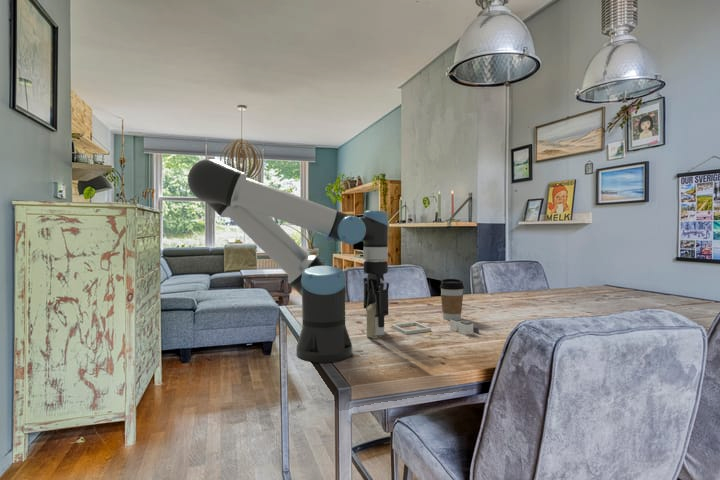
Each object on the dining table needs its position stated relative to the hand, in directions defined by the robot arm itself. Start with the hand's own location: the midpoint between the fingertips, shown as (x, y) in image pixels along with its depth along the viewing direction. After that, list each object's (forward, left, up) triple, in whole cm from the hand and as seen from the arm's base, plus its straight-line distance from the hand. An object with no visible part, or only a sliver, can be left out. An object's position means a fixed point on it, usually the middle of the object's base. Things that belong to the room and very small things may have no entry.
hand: (375, 334), depth 128 cm
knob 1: (+25, -9, +1) cm, 26 cm away
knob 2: (+25, -13, +1) cm, 28 cm away
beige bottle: (0, 0, -1) cm, 1 cm away
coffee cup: (+32, +5, -1) cm, 33 cm away
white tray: (+17, -6, -1) cm, 18 cm away
